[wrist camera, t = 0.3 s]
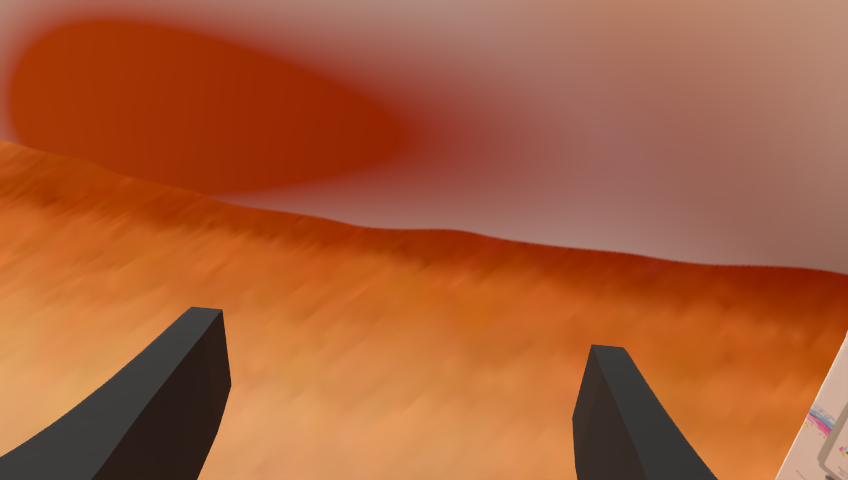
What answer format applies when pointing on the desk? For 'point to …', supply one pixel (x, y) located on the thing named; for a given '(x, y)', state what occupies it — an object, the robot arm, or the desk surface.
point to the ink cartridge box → (823, 431)
